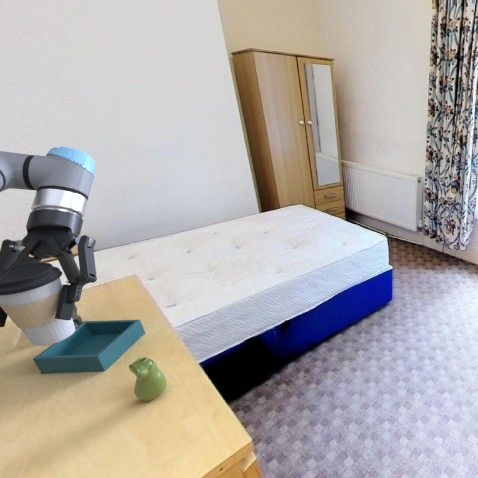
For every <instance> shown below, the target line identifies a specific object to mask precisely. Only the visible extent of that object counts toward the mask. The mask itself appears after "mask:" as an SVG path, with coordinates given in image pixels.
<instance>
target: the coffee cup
mask: <svg viewBox="0 0 478 478" xmlns="http://www.w3.org/2000/svg"><path fill="white" fill-rule="evenodd" d="M62 275H63V270H61V269H60V268H59V267H57V266H54V265H53V264H52V263H50V262H39V263H31V264H25V265H20V266H16V267H12V268H9V269H6V270H3V271H0V306H1V308H2V309H3V310H4V311H5V312H6V314H7V315H8V316H7V317H8V318H9V319H10V320H11V321H12V322H13V323H14V325H15V326H16V327H17V328H19V329H20V330H21V332H22V333H23V334H24V335H25V336H26V337H27V339H28V340H29V341H30V342H31V343H32V344H33V345H34V346H37V347H45V346H51V345H53V344H54V343H57V342H60V341H62V340H64V339H66V338H68V337H69V336H71V335H72V334H73V333H74V332H75V328H76V326H75V324H74V323H73V319H72V318H71V320H61V319H55V315H56V311H57V306H58V302H59V298H60V294H61V290H62V286H63V285H64V284H62V280H61V277H62Z"/></svg>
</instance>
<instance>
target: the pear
mask: <svg viewBox="0 0 478 478" xmlns="http://www.w3.org/2000/svg"><path fill="white" fill-rule="evenodd" d="M128 369H129V371H130V372H131V373H132V374H133V375H135V377H136V379H135V383H134V387H133V388H134V389H133V393H134V395H135V397H136V398H137V399H139V400H140V401H144V402H145V401H152V400H155V399H156V398H159V397H160V396H161V395H162V394H163V393H164V392H165V391H166V388H167V385H168V383H167V378H166V376H165V374H164V373H163V371H162V370H161V369H160V368H159V367H158V365H157V362H156V361H154V360H153V359H151V358H149V357H148V356H143V357H139V358H137V359H135V361H133V362H132V363H130V364H129V365H128Z"/></svg>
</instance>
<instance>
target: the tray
mask: <svg viewBox="0 0 478 478" xmlns="http://www.w3.org/2000/svg"><path fill="white" fill-rule="evenodd" d="M144 335H146V331H145V329H144V326H143V323H142V321H141V319H116V320H115V319H114V320H113V319H112V320H84V321H83V323H82V324H80V325H79V326H78V325H77V326H75V332H74V333H73V334H72V335H71V336H69V337H68V338H66V339H64V340H62V341H60V342H57V343H54V344H51V345H49V346H48V347H47V348H45V349H44V350H43V351H42V352H40V353H39V354H37V355H36V356H34V357H33V358H32V360H33V362H34V364H35V366H36V367H37V369H38V371H39V372H40V374H41V375H45V374H46V375H47V374H69V373H70V374H71V373H72V374H73V373H94V372H106V371H107V370H108V369H109V368H110V367H111V366H112V365H114V363H115V362H117V360H119V359H120V358H121V357H122V356H123V355H124V354H125V353H126V352H127V351H128V350H129V349H130V348H131V347H133V346H134V344H136V342H137V341H139V340H140V339H141V338H142V337H143V336H144Z"/></svg>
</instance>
